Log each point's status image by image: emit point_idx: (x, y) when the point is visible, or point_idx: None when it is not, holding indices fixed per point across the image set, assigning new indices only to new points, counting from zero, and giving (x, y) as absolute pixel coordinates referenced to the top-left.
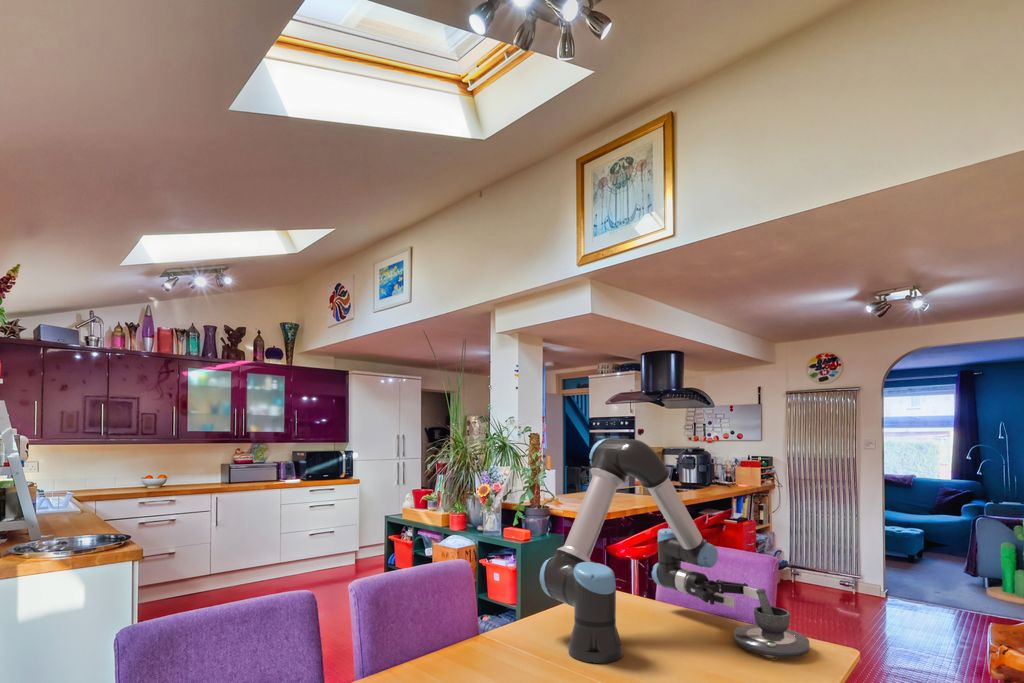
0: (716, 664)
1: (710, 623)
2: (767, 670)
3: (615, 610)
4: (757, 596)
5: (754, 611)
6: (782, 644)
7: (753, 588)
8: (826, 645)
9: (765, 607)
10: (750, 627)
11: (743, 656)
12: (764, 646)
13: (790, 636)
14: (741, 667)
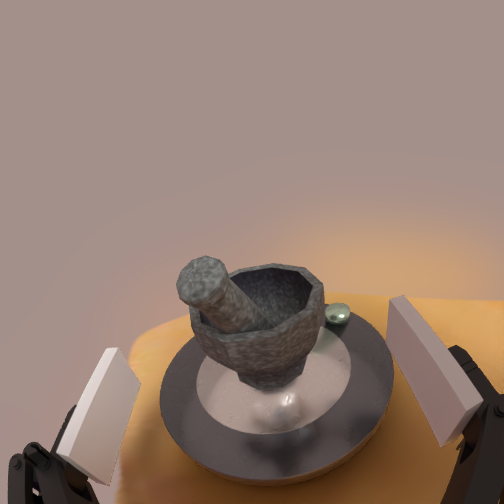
0: (482, 334)
1: None
2: (387, 308)
3: None
4: (126, 394)
5: (316, 311)
6: None
7: (81, 397)
8: (139, 362)
9: (254, 303)
10: (257, 451)
11: (399, 368)
12: (357, 319)
13: None
14: (435, 321)
